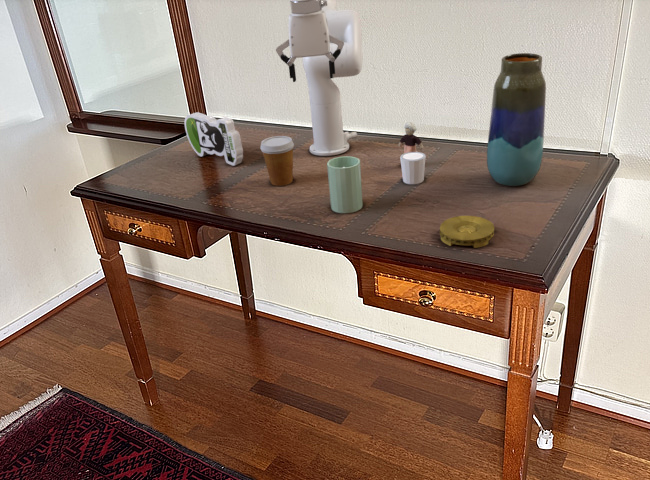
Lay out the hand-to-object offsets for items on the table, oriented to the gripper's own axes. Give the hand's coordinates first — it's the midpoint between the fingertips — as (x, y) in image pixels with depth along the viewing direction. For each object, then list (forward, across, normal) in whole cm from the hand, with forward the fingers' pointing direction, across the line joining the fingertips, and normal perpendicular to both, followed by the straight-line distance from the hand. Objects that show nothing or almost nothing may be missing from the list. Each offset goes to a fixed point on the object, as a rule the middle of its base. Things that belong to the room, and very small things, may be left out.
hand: (313, 78), depth 163 cm
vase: (+28, -50, +11) cm, 59 cm away
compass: (+28, -32, +40) cm, 59 cm away
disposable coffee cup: (+28, +12, -2) cm, 31 cm away
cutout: (+28, +34, -27) cm, 52 cm away
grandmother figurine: (+28, -26, -6) cm, 39 cm away
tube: (+28, -6, +18) cm, 34 cm away
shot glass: (+28, -25, +5) cm, 38 cm away
